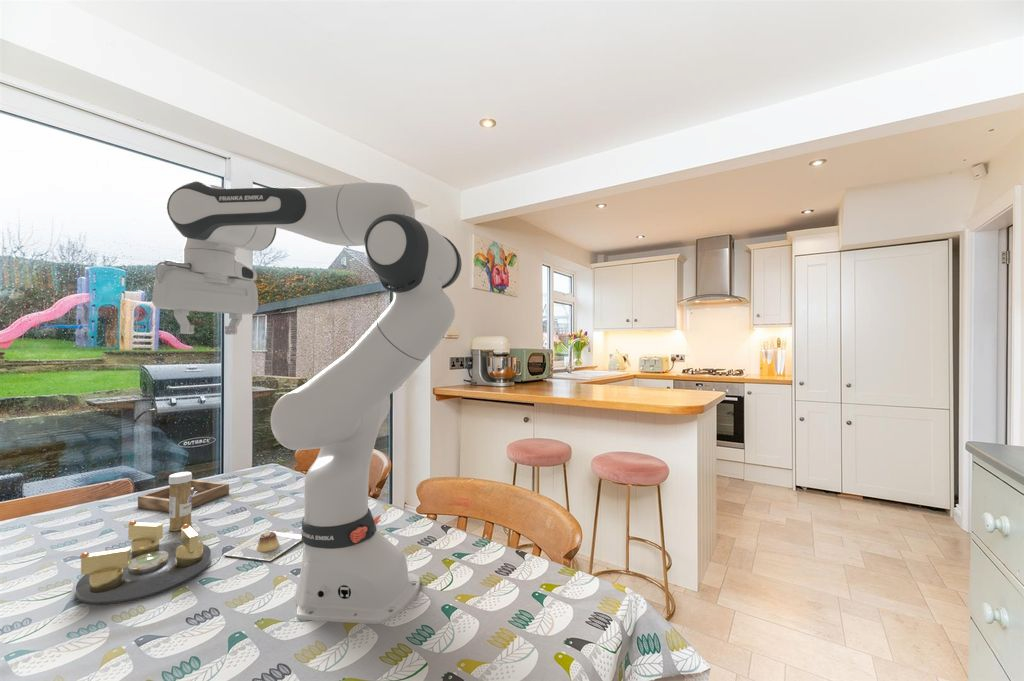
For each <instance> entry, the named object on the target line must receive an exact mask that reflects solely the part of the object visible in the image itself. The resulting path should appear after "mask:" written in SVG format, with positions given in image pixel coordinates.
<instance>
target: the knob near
mask: <svg viewBox="0 0 1024 681" xmlns="http://www.w3.org/2000/svg"><path fill="white" fill-rule="evenodd" d="M180 532H181V534H180V535H181V536H180V538H181V539H180V542H181V543H182V545H180V546H178V547H177V548H176V566H178V567H186V566H190V565H193V564H196V563H198V562H200V561H201V560H202V559H203V544H204V542H203V541H200V540H199V534H198V533H197V532H196V531H195V530H194V529H193V528H192V527H191V526H189V525H188V524H185V525H183V526H182V528H181V530H180Z"/></svg>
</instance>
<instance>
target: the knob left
mask: <svg viewBox="0 0 1024 681" xmlns="http://www.w3.org/2000/svg"><path fill="white" fill-rule="evenodd" d="M131 552H132V546H131V547H124V548H118V549H117V548H116V549H110V550H106V551H104V550H103V551H99V552H91V553H89V552H83V553H81V554H80V556H79V559H80V575H81V576H84V575H85V574H89V591H90V592H92V593H98V592H104V591H107V590H110V589H113V588H115V587H117V586H119V585H120V584H121V583H122V582H123V568H125V567H128V566H129V565H130V564H131Z"/></svg>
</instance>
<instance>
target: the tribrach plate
mask: <svg viewBox="0 0 1024 681" xmlns="http://www.w3.org/2000/svg"><path fill="white" fill-rule="evenodd" d="M180 545H182V543H181V541H180V542H170V543H163V544H159V551H155V552H150V553H146V554H143V555H140V556H138V557H136V558H132V551H131V564H130V565H129V566H128V567H125V568H123V582H122V583H121V584H120V585H119V586H117V587H115V588H113V589H110V590H107V591H104V592H98V593H92V592H90V591H89V574H84V575H82V577H81V578H80V579H79V580H78V581H77V583H76V586H75V596H76V597H75V598H76V599H77V600H78V601H79V602H80V603H83V604H85V605H91V606H92V605H93V606H110V605H118V604H124V603H130V602H134V601H139V600H144V599H146V598H147V599H148V598H150V597H154V596H157V595H160V594H163V593H166V592H169V591H171V590H173V589H176V588H178V587H181V586H182V585H186V583H188V582H190V581H192V580H193V579H196V578H197V577H199V576H200V575H201V574H202V573H204V572H205V570H207V569H208V567H209V566H210V565H211V564H210V563H211V560H212V559H211V548H210V546H208V545H206V544H204V543H203V559H202V560H201V561H200V562H198V563H196V564H193V565H190V566H186V567H178V566H176V548H177V547H178V546H180Z"/></svg>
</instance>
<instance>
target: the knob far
mask: <svg viewBox="0 0 1024 681" xmlns="http://www.w3.org/2000/svg"><path fill="white" fill-rule="evenodd" d="M163 524H164V523H160V522H159V523H157V522H156V523H155V522H137V521H136V520H131V521H130V522H129V523H128V528H127V529H128V531H127V532H128V533H127V534H128V537H127V538H128V540H131V552H132V558H136V557H138V556H140V555H143V554H146V553H150V552H155V551H159V545H160V540H162V539H163V538H164V537H163V536H164V535H163V532H164V531H163V528H164V526H163Z"/></svg>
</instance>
